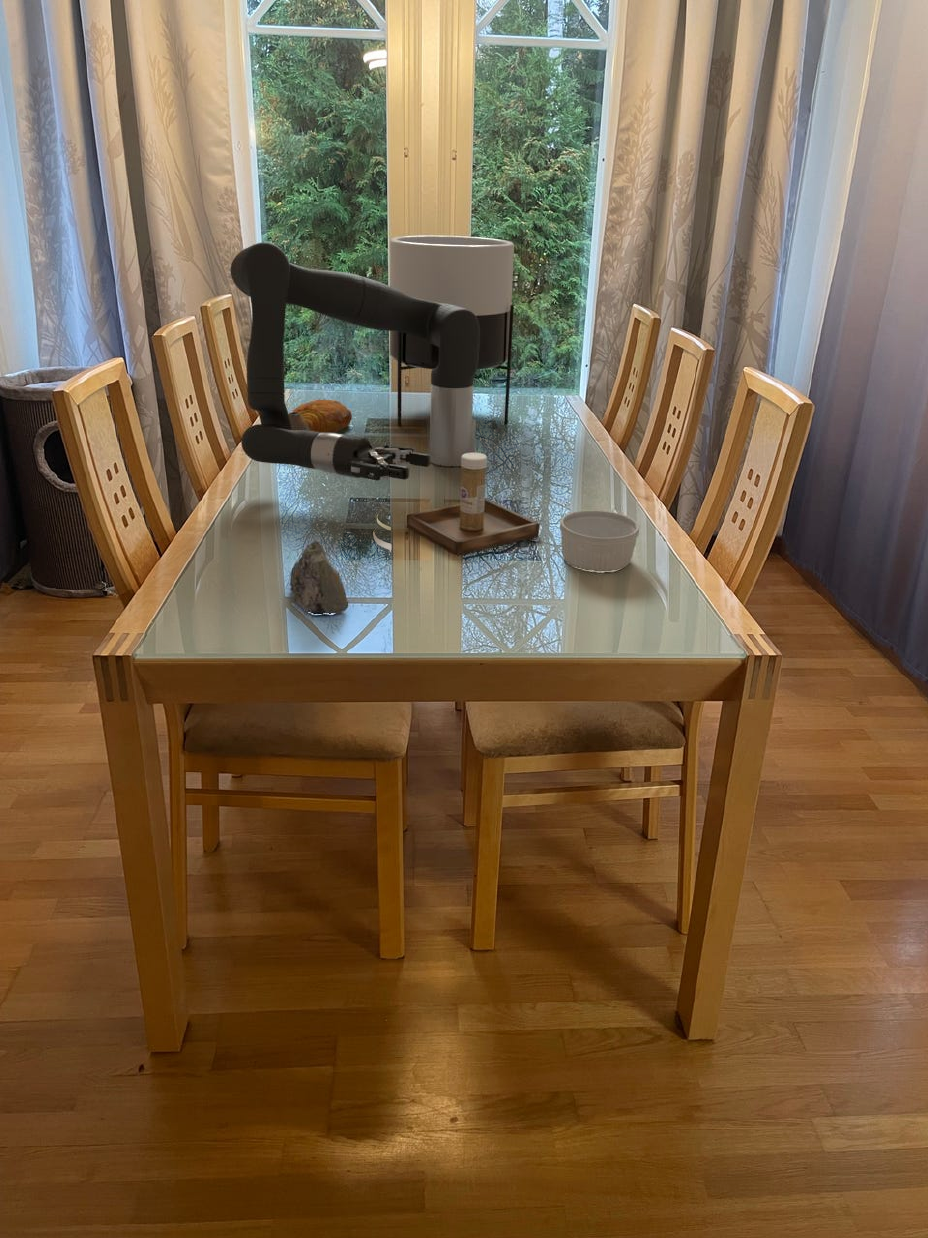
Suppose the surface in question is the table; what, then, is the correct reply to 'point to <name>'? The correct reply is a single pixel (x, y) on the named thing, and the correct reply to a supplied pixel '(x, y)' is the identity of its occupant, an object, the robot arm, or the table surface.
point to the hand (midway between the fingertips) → (418, 467)
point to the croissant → (325, 415)
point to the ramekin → (598, 539)
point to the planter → (456, 295)
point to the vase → (297, 421)
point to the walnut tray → (496, 531)
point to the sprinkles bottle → (472, 491)
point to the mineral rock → (317, 583)
